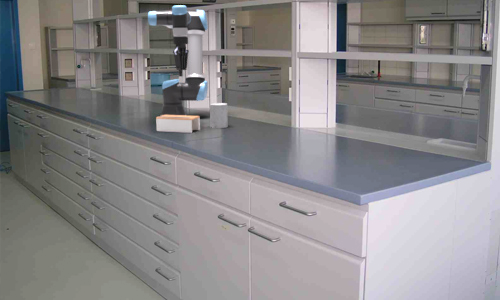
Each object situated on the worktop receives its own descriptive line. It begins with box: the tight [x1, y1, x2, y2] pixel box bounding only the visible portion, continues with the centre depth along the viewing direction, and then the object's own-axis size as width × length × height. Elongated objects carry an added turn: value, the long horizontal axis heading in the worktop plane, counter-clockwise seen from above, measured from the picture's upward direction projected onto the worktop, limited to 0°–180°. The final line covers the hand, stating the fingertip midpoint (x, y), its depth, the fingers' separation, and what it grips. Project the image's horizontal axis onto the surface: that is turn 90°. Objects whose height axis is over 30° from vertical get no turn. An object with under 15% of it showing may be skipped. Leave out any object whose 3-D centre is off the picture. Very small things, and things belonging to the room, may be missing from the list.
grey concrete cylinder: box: [209, 102, 229, 129], centre depth 295 cm, size 10×10×12 cm
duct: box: [155, 118, 201, 134], centre depth 285 cm, size 10×20×6 cm, turn 69°
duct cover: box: [155, 114, 201, 120], centre depth 284 cm, size 10×20×1 cm, turn 69°
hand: (182, 82), depth 286 cm, fingers closed
